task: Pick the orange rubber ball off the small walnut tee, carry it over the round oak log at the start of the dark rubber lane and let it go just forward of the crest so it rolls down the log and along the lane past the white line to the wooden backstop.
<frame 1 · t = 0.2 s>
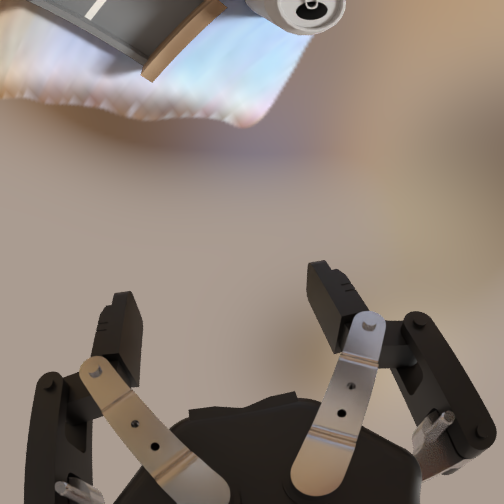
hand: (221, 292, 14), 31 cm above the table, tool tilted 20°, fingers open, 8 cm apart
backstop: (181, 30, 28), on the table
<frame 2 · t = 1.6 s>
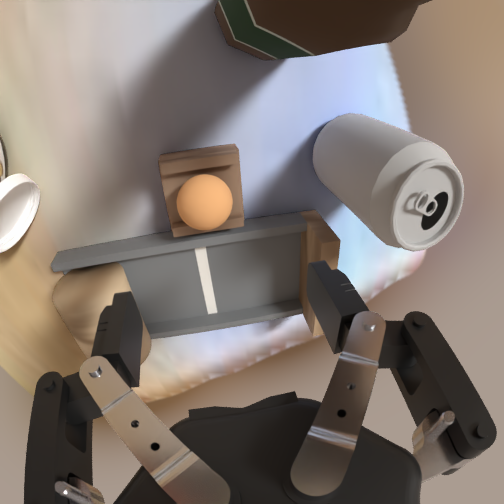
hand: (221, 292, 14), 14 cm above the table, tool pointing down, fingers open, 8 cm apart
backstop: (305, 259, 31), on the table
can: (346, 150, 26), on the table
ball: (204, 202, 22), point 4 cm above the table, touching tee
lane: (182, 279, 30), on the table
log: (110, 290, 29), resting on lane
beer bottle: (263, 16, 18), on the table
tee: (201, 183, 25), on the table
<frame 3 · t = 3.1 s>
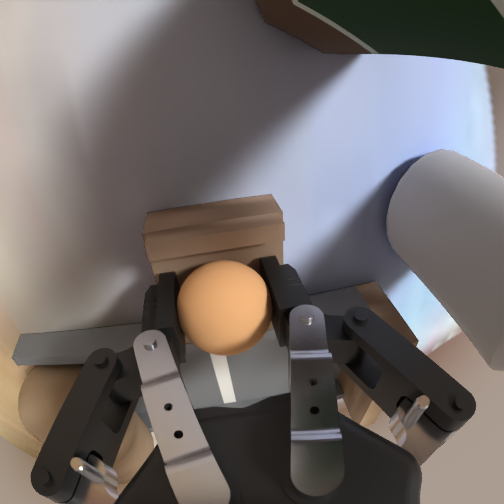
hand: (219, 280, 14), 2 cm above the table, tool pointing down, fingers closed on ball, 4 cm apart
backstop: (353, 337, 22), on the table
can: (424, 200, 17), on the table
ball: (224, 308, 13), point 4 cm above the table, touching gripper, tee
lane: (190, 370, 21), on the table
log: (95, 379, 20), resting on lane
tee: (216, 255, 16), on the table
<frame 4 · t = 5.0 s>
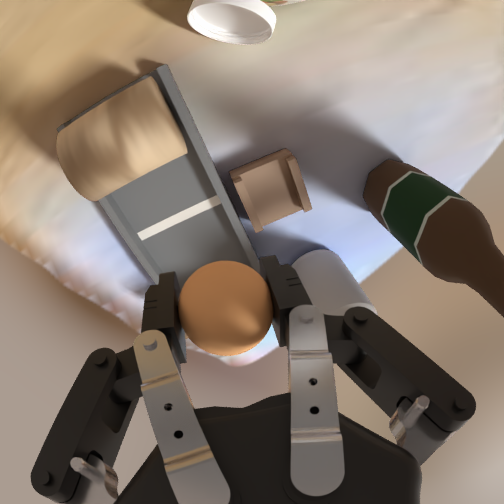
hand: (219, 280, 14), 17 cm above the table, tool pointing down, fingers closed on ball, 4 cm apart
can: (312, 269, 38), on the table
ball: (225, 308, 13), point 19 cm above the table, touching gripper
lane: (167, 197, 29), on the table
log: (131, 129, 25), resting on lane
beer bottle: (387, 187, 34), on the table
tee: (267, 185, 31), on the table
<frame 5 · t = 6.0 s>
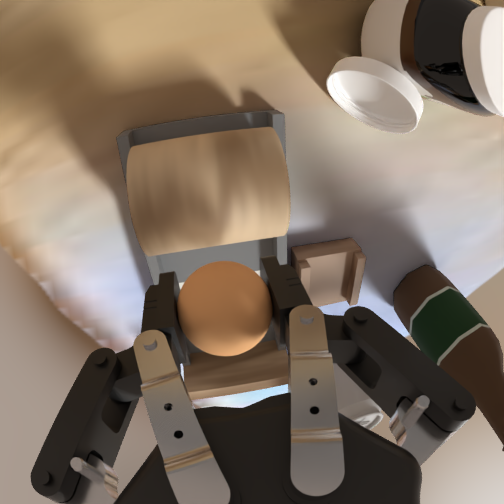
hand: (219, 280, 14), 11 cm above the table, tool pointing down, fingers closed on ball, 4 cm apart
backstop: (232, 347, 33), on the table
can: (322, 347, 37), on the table
spread jar: (386, 63, 20), on the table
ball: (224, 308, 13), point 13 cm above the table, touching gripper
lane: (217, 255, 26), on the table
log: (205, 169, 22), resting on lane
beer bottle: (414, 287, 34), on the table
tee: (320, 268, 29), on the table
when the fingers open (8 cm above the table, at t = 6.6 s): ball drops 7 cm and tips over, resting on lane.
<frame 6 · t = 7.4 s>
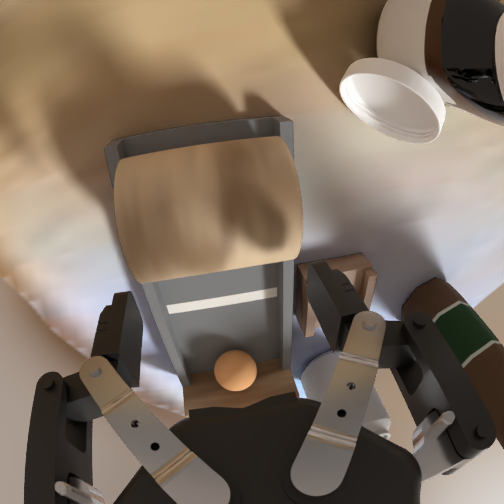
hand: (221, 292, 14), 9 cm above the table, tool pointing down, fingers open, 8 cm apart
backstop: (234, 366, 31), on the table
can: (327, 363, 35), on the table
spread jar: (400, 66, 18), on the table
ball: (235, 370, 28), point 3 cm above the table, tilted 140°, touching lane
lane: (217, 274, 24), on the table
log: (204, 182, 20), resting on lane
beer bottle: (423, 300, 33), on the table
tee: (328, 285, 27), on the table
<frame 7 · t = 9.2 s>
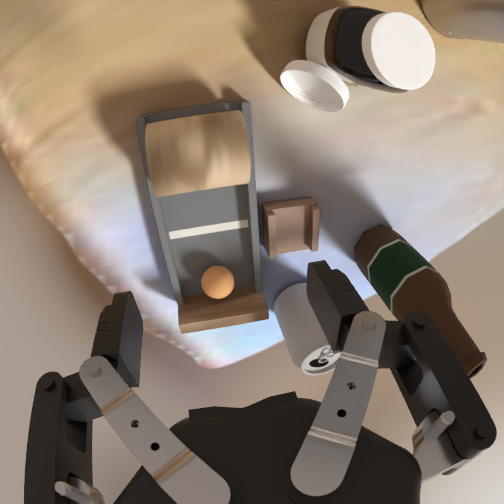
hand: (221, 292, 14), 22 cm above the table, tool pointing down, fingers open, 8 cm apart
backstop: (219, 293, 42), on the table
can: (296, 298, 45), on the table
spread jar: (329, 63, 28), on the table
ball: (217, 282, 37), point 3 cm above the table, tilted 111°, touching lane
lane: (205, 209, 35), on the table
log: (196, 143, 30), resting on lane
beer bottle: (374, 245, 43), on the table
tee: (287, 222, 38), on the table
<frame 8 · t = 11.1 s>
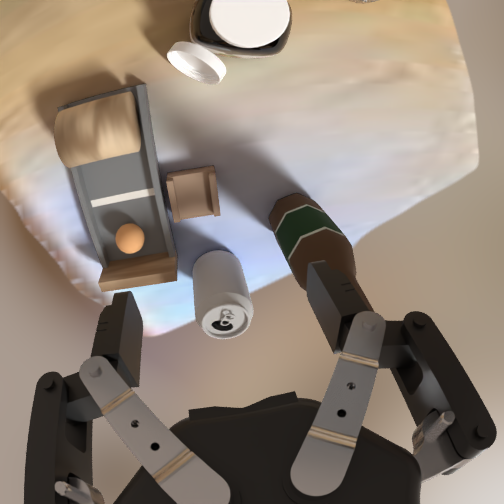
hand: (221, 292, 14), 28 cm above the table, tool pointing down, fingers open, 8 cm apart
backstop: (140, 258, 44), on the table
can: (216, 267, 48), on the table
spread jar: (222, 41, 30), on the table
ball: (129, 238, 39), point 3 cm above the table, tilted 80°, touching lane
lane: (119, 179, 37), on the table
log: (107, 123, 33), resting on lane
beer bottle: (292, 215, 45), on the table
tee: (193, 190, 40), on the table
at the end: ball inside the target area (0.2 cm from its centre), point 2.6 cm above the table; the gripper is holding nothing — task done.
